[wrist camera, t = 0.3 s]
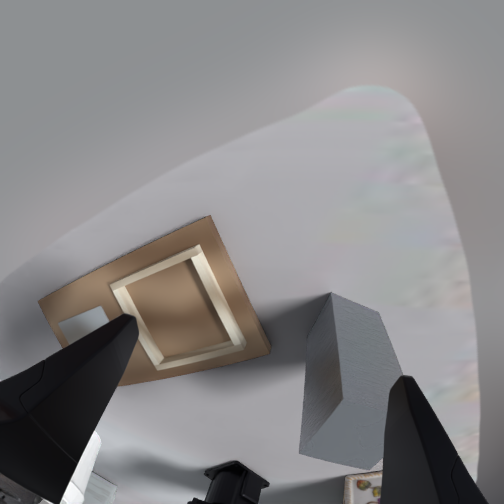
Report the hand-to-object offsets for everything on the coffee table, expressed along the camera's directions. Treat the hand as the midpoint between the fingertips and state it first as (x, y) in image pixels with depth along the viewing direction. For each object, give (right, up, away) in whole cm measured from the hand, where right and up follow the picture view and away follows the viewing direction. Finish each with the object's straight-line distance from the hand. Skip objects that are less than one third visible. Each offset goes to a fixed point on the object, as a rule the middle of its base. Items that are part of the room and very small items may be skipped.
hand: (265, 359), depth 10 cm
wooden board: (-12, -4, +20) cm, 23 cm away
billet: (+7, -3, +16) cm, 18 cm away
